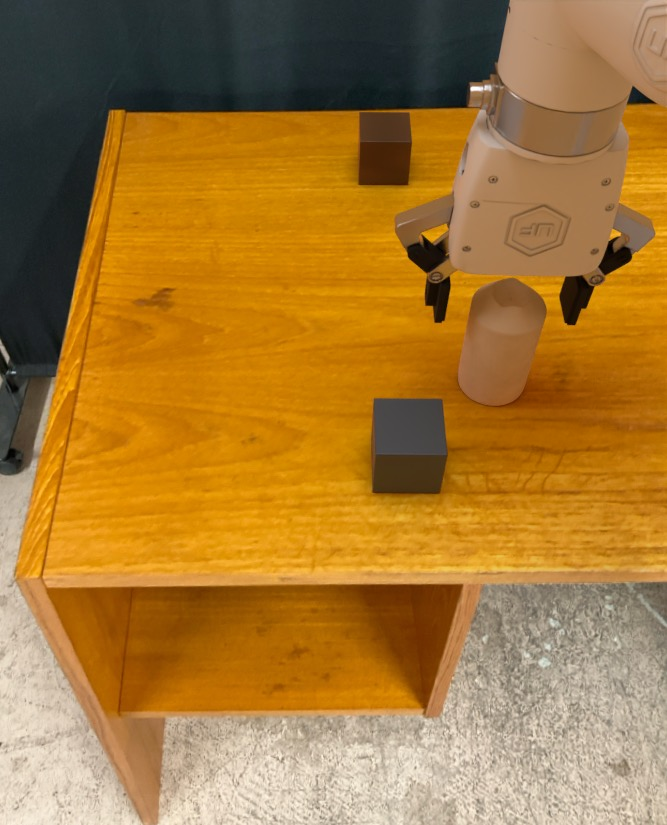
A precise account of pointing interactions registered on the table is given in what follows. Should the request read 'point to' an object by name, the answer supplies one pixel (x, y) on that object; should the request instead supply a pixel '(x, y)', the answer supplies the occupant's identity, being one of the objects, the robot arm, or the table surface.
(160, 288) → the table surface
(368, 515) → the table surface
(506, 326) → the candle
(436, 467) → the near block
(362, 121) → the far block
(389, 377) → the table surface
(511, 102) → the robot arm
